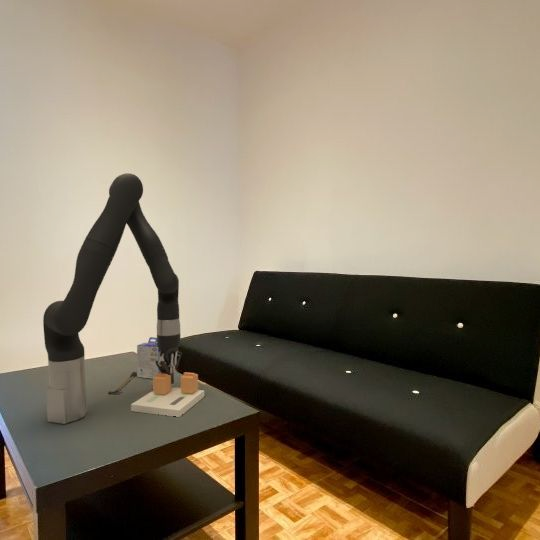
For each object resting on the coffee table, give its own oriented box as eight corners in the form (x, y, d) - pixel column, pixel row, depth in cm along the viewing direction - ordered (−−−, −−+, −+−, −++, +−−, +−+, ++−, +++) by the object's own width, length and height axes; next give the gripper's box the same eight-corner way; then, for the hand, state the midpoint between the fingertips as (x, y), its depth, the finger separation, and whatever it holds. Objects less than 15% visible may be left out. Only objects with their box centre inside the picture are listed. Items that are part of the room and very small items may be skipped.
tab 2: (192, 393, 123) (191, 375, 123) (180, 392, 124) (180, 374, 124) (198, 389, 127) (197, 371, 126) (187, 388, 128) (186, 370, 128)
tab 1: (164, 394, 122) (164, 376, 122) (153, 393, 123) (152, 375, 123) (171, 390, 126) (170, 372, 126) (160, 389, 127) (159, 371, 127)
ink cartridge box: (167, 375, 148) (167, 337, 147) (159, 380, 143) (158, 341, 142) (145, 372, 151) (144, 335, 150) (136, 377, 146) (135, 339, 145)
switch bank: (179, 417, 111) (179, 410, 111) (131, 411, 116) (130, 404, 116) (204, 396, 127) (204, 390, 126) (160, 391, 131) (160, 385, 131)
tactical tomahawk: (127, 397, 129) (127, 394, 129) (107, 395, 129) (107, 392, 129) (149, 375, 150) (149, 373, 150) (132, 374, 150) (132, 371, 150)
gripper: (168, 337, 121) (169, 392, 122) (188, 328, 134) (189, 378, 135) (147, 335, 123) (148, 389, 124) (169, 327, 136) (170, 376, 137)
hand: (169, 383), depth 129 cm, fingers closed
